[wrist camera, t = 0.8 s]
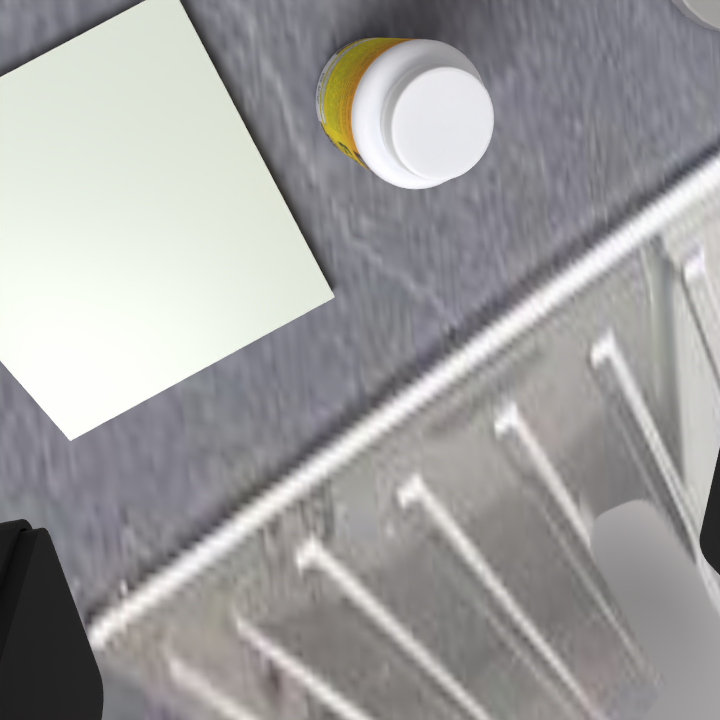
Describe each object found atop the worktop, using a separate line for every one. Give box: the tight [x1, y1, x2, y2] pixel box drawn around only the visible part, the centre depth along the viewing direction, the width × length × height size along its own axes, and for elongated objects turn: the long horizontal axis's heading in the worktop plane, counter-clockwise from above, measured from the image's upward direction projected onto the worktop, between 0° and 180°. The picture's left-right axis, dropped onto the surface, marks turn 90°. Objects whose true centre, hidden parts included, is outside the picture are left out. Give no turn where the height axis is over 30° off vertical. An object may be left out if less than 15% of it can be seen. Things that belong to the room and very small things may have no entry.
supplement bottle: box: [316, 38, 494, 189], centre depth 29 cm, size 6×6×10 cm
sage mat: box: [0, 0, 334, 441], centre depth 32 cm, size 16×16×1 cm
